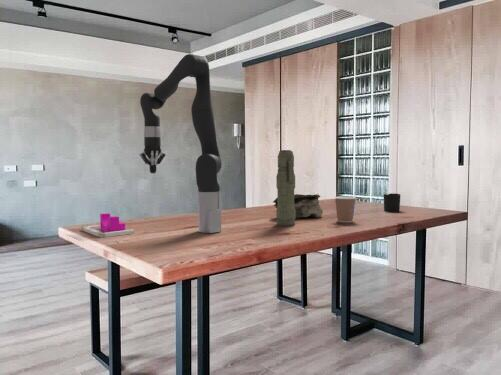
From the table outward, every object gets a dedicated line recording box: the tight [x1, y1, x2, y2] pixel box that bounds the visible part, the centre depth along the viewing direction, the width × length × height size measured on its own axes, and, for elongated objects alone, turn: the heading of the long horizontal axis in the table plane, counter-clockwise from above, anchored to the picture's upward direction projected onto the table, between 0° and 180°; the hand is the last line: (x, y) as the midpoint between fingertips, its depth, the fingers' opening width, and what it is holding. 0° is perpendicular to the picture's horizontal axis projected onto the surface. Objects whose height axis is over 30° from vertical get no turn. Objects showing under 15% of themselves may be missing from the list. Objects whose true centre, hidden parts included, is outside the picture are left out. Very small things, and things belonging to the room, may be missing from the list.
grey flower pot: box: [334, 195, 357, 223], centre depth 207 cm, size 10×10×12 cm
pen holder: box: [383, 193, 401, 213], centre depth 248 cm, size 9×9×10 cm
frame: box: [81, 224, 135, 239], centre depth 181 cm, size 23×14×2 cm, turn 39°
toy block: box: [99, 212, 126, 233], centre depth 181 cm, size 15×6×8 cm, turn 34°
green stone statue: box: [275, 149, 296, 227], centre depth 197 cm, size 9×12×35 cm
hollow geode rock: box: [272, 193, 324, 219], centre depth 220 cm, size 28×13×15 cm
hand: (153, 173), depth 199 cm, fingers closed
